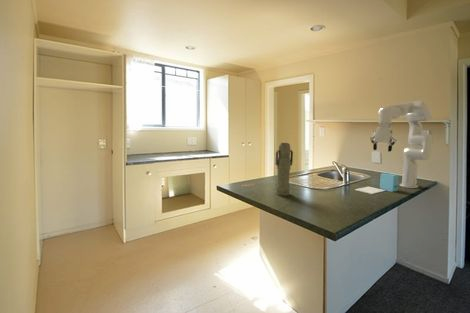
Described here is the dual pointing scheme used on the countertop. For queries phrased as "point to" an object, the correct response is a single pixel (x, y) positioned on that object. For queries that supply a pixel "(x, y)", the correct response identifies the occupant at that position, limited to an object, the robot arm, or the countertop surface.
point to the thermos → (283, 169)
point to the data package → (389, 182)
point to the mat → (370, 190)
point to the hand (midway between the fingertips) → (382, 150)
